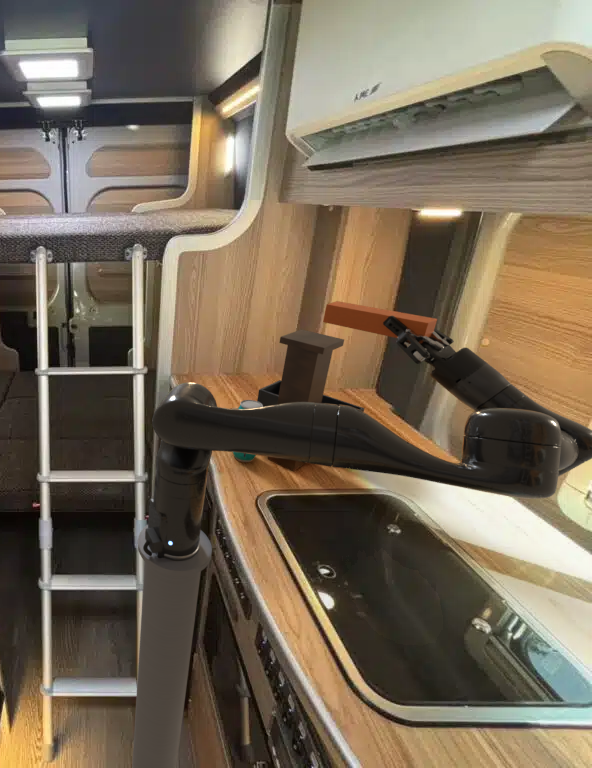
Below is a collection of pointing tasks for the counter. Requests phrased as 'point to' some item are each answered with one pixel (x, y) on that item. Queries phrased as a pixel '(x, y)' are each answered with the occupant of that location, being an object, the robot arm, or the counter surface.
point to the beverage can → (247, 405)
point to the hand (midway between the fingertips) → (392, 317)
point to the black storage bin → (271, 394)
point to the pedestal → (305, 372)
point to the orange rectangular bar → (375, 319)
